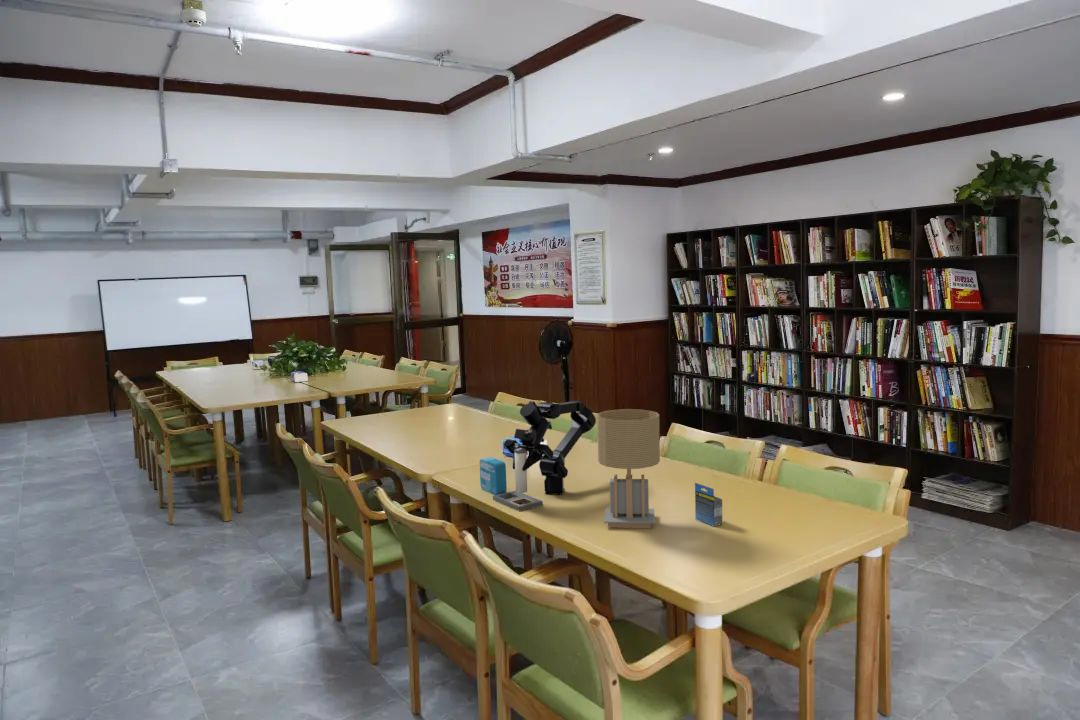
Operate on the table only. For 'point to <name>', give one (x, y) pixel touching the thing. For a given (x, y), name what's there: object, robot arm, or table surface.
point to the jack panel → (517, 500)
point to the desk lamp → (628, 463)
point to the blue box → (493, 475)
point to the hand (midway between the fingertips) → (518, 469)
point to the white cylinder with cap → (520, 470)
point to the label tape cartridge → (707, 505)
